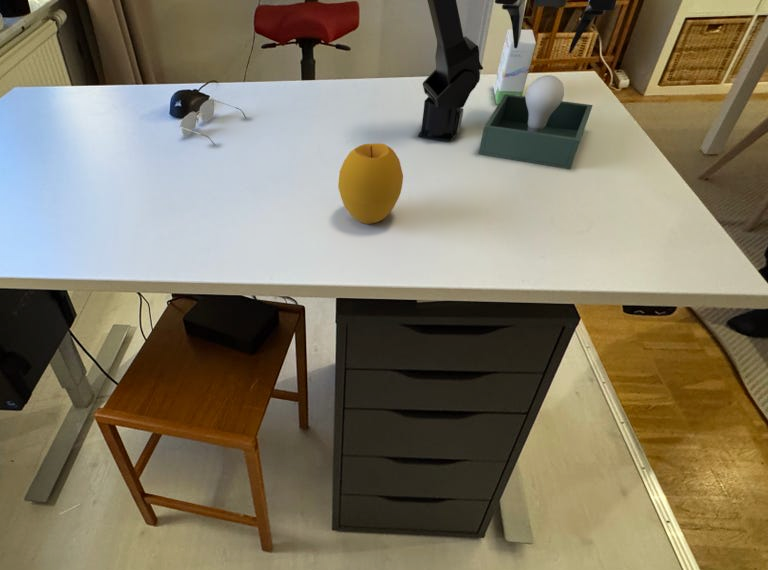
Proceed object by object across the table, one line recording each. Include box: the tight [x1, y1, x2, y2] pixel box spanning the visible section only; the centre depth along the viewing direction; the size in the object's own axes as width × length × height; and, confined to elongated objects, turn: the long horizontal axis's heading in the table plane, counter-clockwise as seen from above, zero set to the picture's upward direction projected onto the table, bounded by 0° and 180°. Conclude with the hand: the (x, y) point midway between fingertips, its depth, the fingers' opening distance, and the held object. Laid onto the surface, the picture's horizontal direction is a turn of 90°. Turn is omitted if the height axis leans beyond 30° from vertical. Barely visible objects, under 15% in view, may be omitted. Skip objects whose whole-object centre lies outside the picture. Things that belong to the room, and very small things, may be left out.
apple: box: [337, 142, 404, 225], centre depth 82 cm, size 10×10×12 cm
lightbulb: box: [525, 74, 565, 133], centre depth 96 cm, size 6×6×11 cm
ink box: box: [493, 28, 537, 105], centre depth 111 cm, size 9×5×12 cm, turn 168°
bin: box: [478, 94, 593, 170], centre depth 98 cm, size 16×16×5 cm
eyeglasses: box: [178, 98, 248, 146], centre depth 111 cm, size 14×8×4 cm, turn 154°
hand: (542, 50), depth 97 cm, fingers open, 9 cm apart
